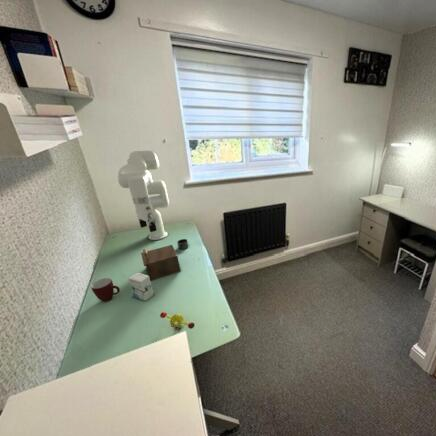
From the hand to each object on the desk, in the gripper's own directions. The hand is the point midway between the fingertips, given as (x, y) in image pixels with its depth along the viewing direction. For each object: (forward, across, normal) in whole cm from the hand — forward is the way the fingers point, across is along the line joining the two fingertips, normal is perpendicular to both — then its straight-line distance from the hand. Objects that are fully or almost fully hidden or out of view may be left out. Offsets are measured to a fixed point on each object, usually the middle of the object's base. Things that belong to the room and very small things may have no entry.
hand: (148, 228), depth 130 cm
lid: (+17, -2, -1) cm, 17 cm away
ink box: (+28, -15, +16) cm, 35 cm away
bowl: (+27, +12, -24) cm, 38 cm away
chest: (+27, -2, -2) cm, 27 cm away
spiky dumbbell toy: (+28, -48, +18) cm, 58 cm away
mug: (+27, -4, +27) cm, 39 cm away
